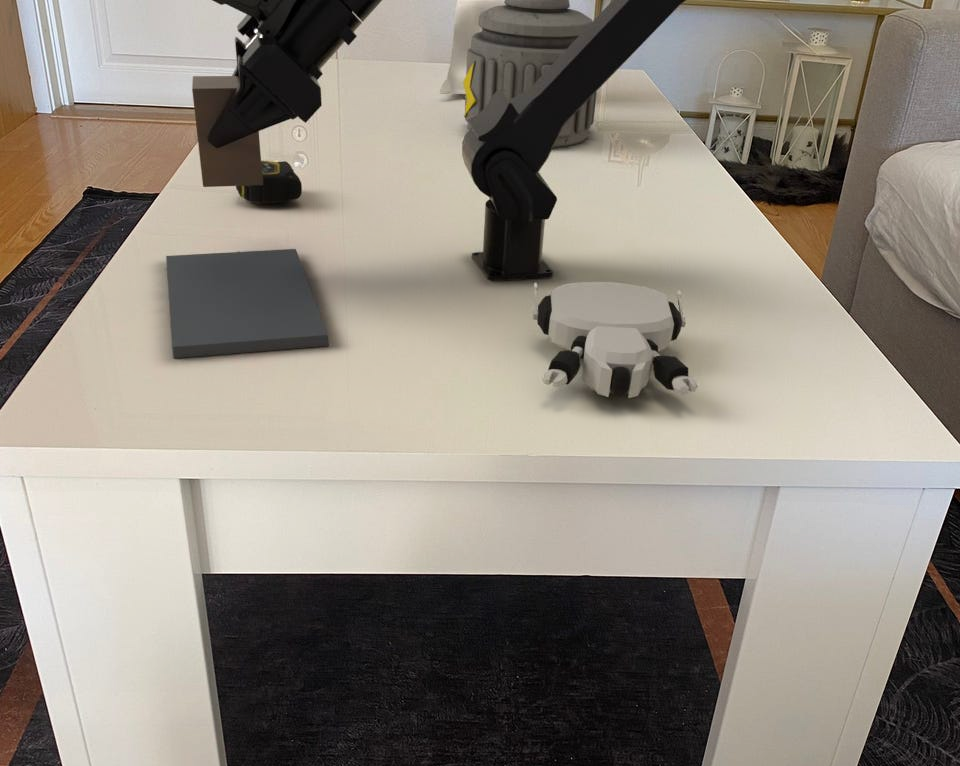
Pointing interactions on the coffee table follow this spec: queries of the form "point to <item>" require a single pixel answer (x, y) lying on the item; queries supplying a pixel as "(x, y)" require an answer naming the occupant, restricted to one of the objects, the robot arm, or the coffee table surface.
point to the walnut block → (234, 159)
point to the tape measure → (273, 184)
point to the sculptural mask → (464, 41)
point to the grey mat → (241, 303)
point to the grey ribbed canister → (523, 56)
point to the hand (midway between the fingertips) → (211, 135)
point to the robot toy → (612, 337)
